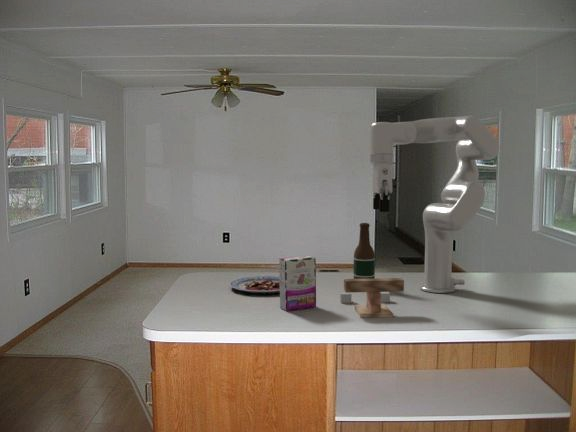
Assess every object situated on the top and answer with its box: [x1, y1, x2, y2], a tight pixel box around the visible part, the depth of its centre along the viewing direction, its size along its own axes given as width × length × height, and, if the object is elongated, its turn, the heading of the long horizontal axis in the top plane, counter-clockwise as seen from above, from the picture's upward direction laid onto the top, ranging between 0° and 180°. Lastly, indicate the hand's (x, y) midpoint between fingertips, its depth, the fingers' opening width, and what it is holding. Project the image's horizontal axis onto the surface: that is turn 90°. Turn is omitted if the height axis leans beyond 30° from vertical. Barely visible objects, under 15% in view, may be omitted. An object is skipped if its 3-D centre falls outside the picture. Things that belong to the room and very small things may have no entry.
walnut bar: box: [343, 277, 405, 293], centre depth 179 cm, size 18×4×4 cm, turn 94°
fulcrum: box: [354, 292, 394, 318], centre depth 180 cm, size 10×10×7 cm
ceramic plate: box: [229, 275, 280, 295], centre depth 215 cm, size 26×26×3 cm
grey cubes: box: [339, 291, 391, 304], centre depth 194 cm, size 16×2×3 cm, turn 94°
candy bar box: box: [278, 255, 317, 312], centre depth 186 cm, size 11×5×16 cm, turn 117°
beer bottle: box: [353, 222, 376, 279], centre depth 215 cm, size 8×8×24 cm
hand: (380, 210), depth 195 cm, fingers open, 9 cm apart
